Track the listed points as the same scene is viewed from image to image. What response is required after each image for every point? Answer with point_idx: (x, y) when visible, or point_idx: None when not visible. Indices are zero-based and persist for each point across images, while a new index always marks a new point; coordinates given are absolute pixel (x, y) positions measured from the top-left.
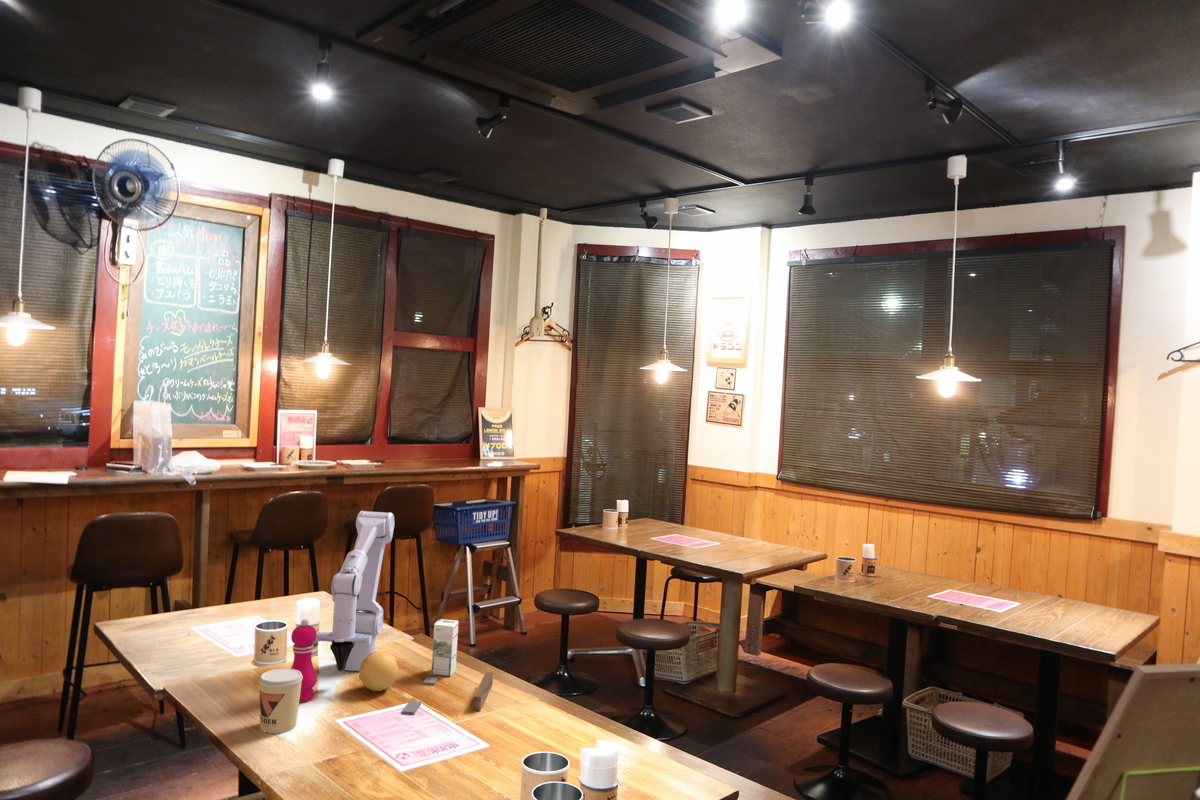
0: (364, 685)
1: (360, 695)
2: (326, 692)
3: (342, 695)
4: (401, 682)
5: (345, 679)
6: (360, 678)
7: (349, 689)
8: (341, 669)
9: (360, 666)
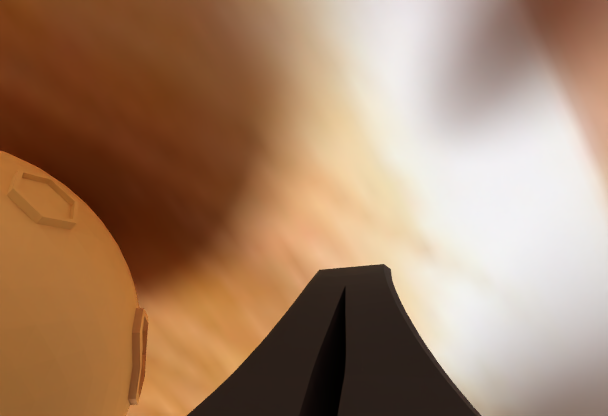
0: (61, 183)
1: (85, 89)
2: (434, 44)
3: (234, 27)
4: None
5: None
6: (44, 191)
7: (261, 189)
8: (326, 276)
9: (20, 325)
